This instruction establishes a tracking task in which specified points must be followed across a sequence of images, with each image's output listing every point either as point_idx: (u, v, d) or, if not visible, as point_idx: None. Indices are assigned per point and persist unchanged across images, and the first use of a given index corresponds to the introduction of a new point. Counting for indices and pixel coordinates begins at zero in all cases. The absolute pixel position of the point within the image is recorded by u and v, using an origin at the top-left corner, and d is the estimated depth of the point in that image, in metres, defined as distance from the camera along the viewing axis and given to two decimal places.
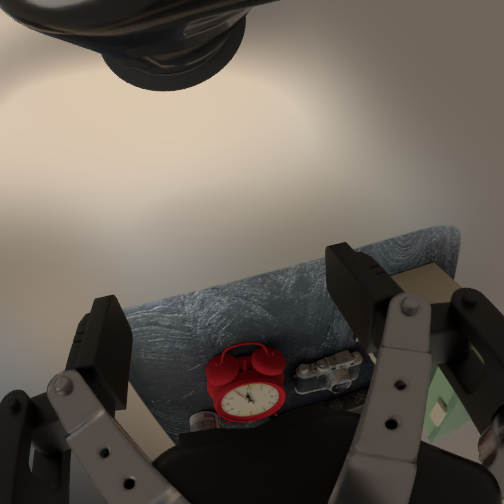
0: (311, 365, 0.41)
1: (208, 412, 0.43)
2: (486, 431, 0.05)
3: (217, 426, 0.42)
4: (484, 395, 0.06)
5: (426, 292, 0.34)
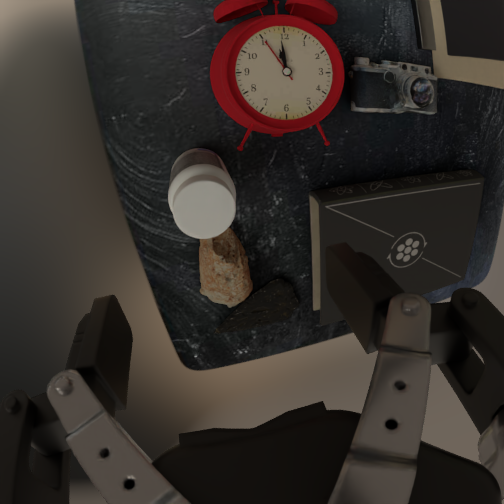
0: None
1: (206, 149, 0.26)
2: (486, 431, 0.05)
3: (222, 163, 0.24)
4: (485, 394, 0.06)
5: None
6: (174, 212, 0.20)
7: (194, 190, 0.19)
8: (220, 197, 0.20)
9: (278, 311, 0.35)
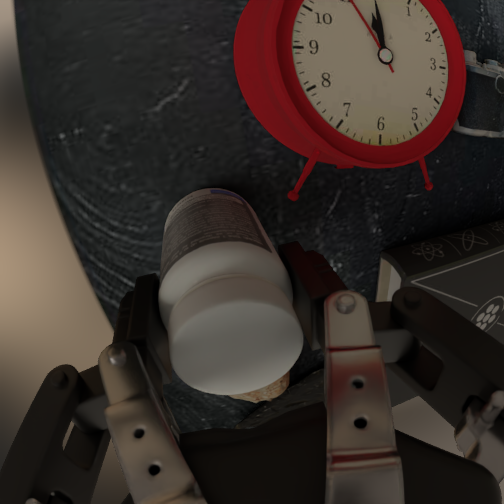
0: None
1: (225, 190, 0.15)
2: (460, 424, 0.06)
3: (258, 221, 0.14)
4: (449, 389, 0.07)
5: None
6: (173, 361, 0.09)
7: (215, 323, 0.08)
8: (274, 330, 0.09)
9: (319, 400, 0.24)
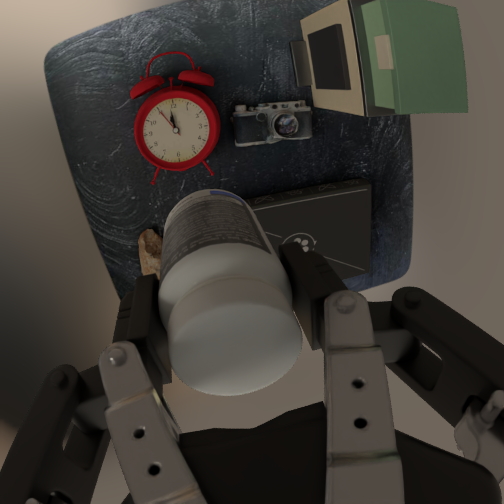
0: (250, 107, 0.36)
1: (225, 191, 0.15)
2: (460, 424, 0.06)
3: (257, 222, 0.14)
4: (448, 389, 0.07)
5: None
6: (173, 362, 0.09)
7: (215, 324, 0.08)
8: (273, 332, 0.09)
9: None
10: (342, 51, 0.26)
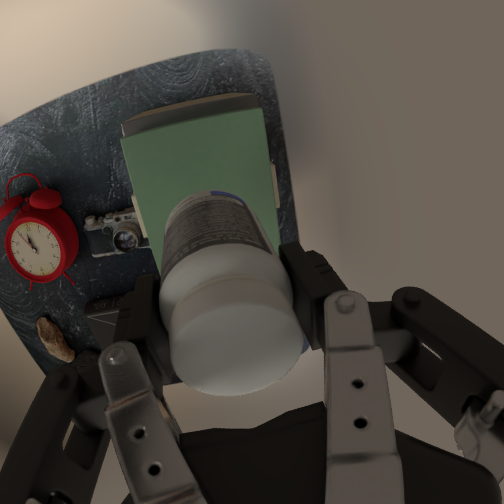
0: (99, 217, 0.36)
1: (226, 191, 0.15)
2: (460, 424, 0.06)
3: (258, 223, 0.14)
4: (448, 389, 0.07)
5: None
6: (174, 363, 0.09)
7: (216, 325, 0.08)
8: (274, 332, 0.09)
9: None
10: None
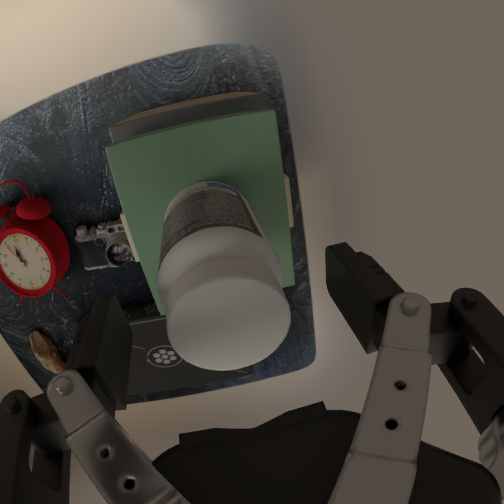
0: (91, 227, 0.33)
1: (221, 183, 0.16)
2: (486, 431, 0.05)
3: (251, 211, 0.14)
4: (485, 395, 0.06)
5: None
6: (170, 335, 0.10)
7: (208, 297, 0.09)
8: (263, 306, 0.10)
9: None
10: None
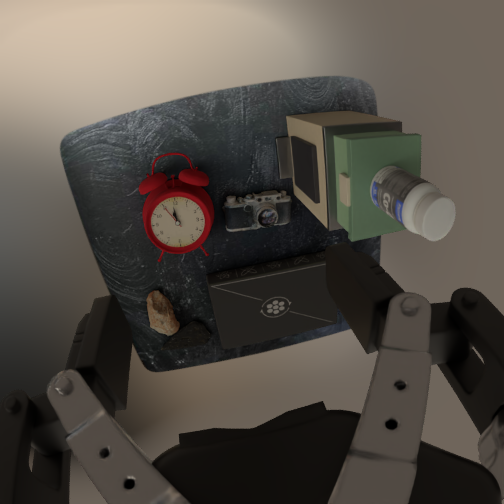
0: (239, 197, 0.46)
1: None
2: (486, 431, 0.05)
3: None
4: (484, 395, 0.06)
5: (333, 115, 0.39)
6: (424, 219, 0.23)
7: (439, 204, 0.22)
8: (450, 210, 0.23)
9: (198, 339, 0.57)
10: (314, 171, 0.36)
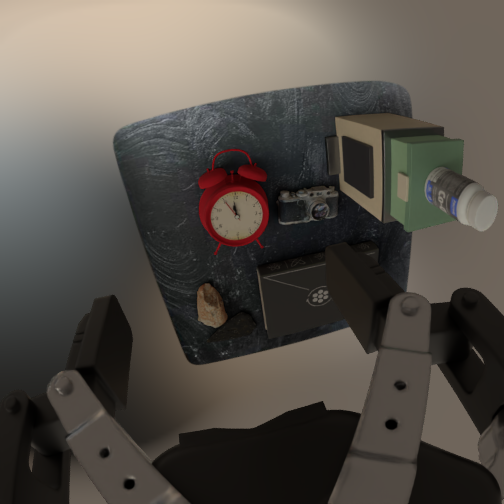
0: (292, 192, 0.49)
1: None
2: (486, 431, 0.05)
3: None
4: (484, 395, 0.06)
5: (379, 118, 0.41)
6: (477, 213, 0.25)
7: (487, 200, 0.25)
8: (494, 206, 0.25)
9: (243, 330, 0.60)
10: (370, 169, 0.38)
